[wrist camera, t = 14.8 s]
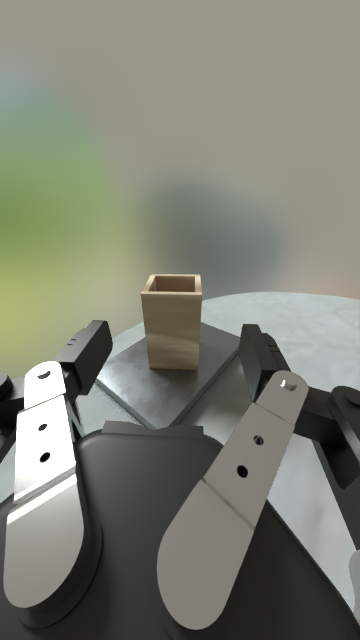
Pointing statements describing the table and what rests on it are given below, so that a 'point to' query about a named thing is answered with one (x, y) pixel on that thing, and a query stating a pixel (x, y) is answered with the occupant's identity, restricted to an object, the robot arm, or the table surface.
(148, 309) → the wooden sleeve
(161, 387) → the post plate
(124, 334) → the table surface
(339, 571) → the table surface
